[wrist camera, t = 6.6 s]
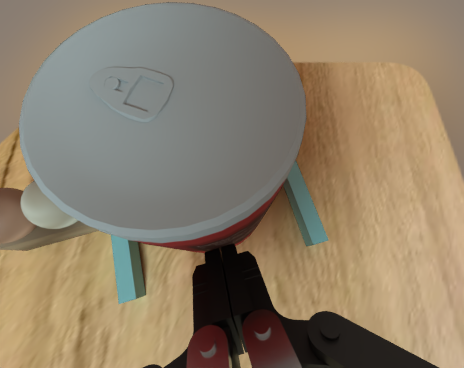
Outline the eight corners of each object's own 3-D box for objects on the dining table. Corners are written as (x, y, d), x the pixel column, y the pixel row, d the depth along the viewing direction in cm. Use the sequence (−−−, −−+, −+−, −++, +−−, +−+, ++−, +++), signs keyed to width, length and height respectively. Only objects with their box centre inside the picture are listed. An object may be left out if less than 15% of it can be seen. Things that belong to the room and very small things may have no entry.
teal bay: (130, 299, 15) (118, 303, 13) (109, 139, 18) (98, 130, 17) (320, 242, 16) (328, 240, 14) (264, 100, 19) (266, 87, 18)
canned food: (165, 146, 18) (66, -8, 8) (266, 155, 18) (309, 4, 7) (143, 247, 16) (-43, 222, 5) (260, 259, 15) (311, 259, 5)
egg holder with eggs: (25, 252, 16) (-61, 249, 11) (25, 208, 17) (-55, 189, 12) (115, 227, 16) (67, 214, 12) (110, 185, 17) (63, 159, 13)
